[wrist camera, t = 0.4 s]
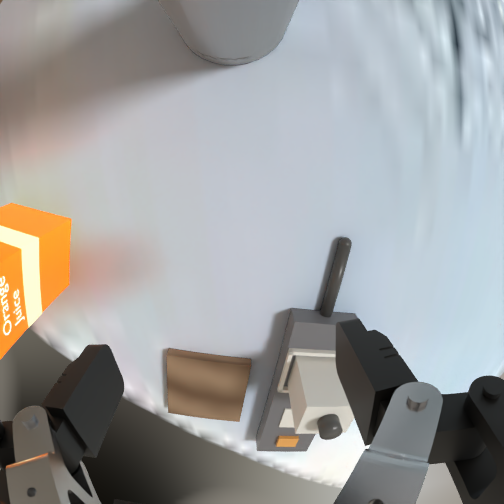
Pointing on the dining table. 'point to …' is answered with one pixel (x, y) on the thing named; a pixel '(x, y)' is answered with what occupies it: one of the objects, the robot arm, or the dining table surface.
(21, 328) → the orange juice
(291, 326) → the grey panel with rod
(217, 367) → the walnut board
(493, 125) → the dining table surface
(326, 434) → the plug
